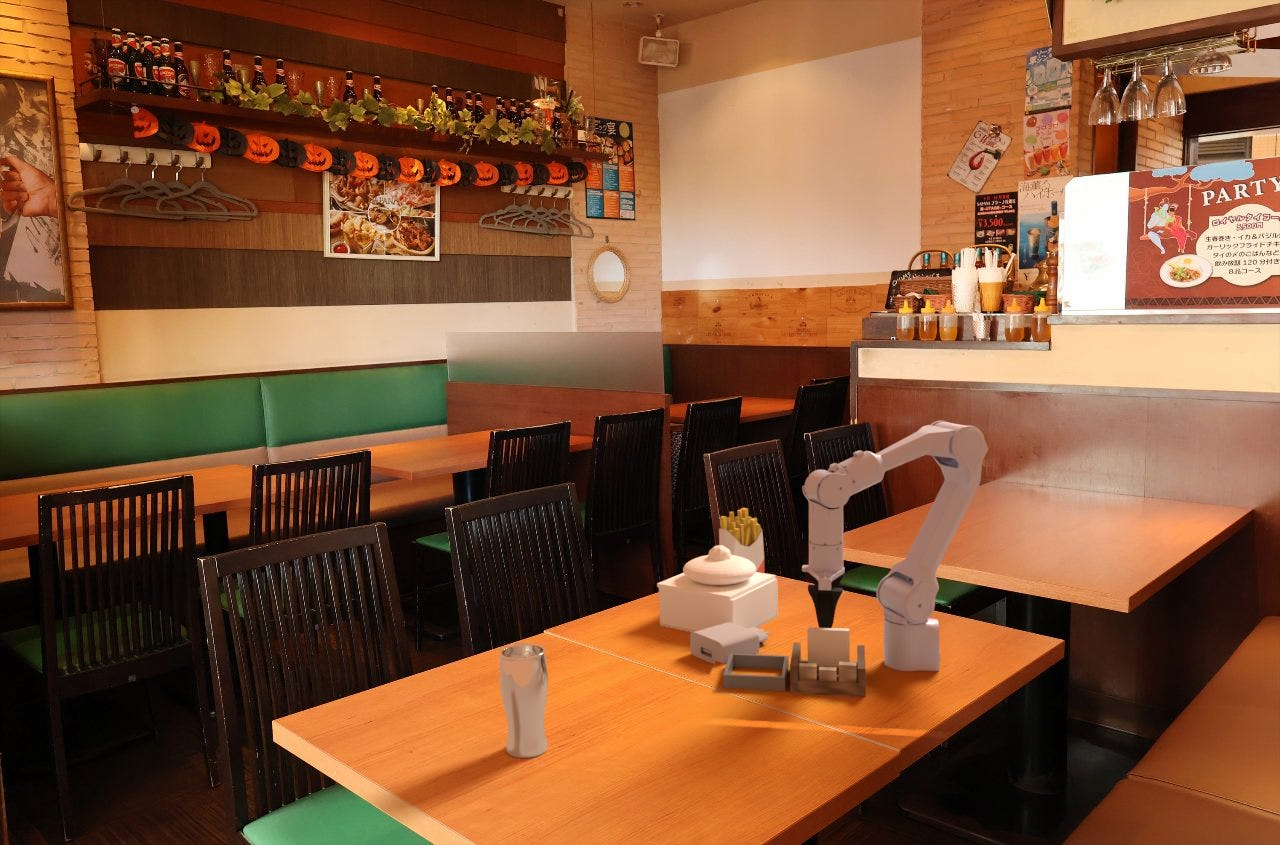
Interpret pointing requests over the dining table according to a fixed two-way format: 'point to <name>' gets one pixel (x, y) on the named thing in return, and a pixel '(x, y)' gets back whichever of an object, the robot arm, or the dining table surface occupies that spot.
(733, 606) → the white lidded square jar
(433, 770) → the dining table surface
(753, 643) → the charger
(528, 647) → the beer glass
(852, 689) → the rack
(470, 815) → the dining table surface
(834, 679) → the offcuts
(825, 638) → the sheet
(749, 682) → the tray
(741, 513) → the french fries container
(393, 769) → the dining table surface
